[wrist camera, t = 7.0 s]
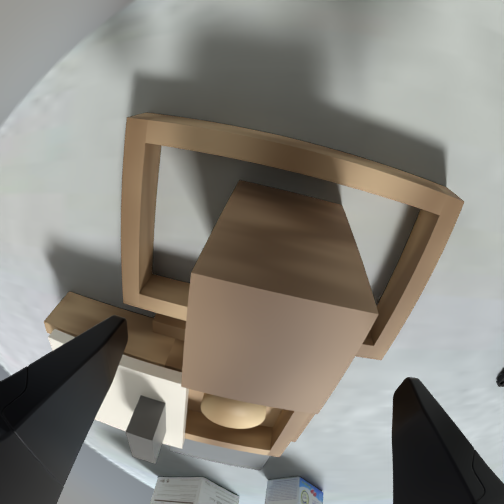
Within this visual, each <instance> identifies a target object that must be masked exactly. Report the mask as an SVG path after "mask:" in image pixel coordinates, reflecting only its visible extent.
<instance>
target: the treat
mask: <svg viewBox="0 0 504 504" xmlns="http://www.w3.org/2000/svg"><path fill="white" fill-rule="evenodd" d="M201 411H202V413H203V414H204V415H205V416H206V417H207V418H208V419H209V420H211V421H212V422H214V423H216V424H219V425H221V426H225V427H229V428H236V429H246V428H252V427H255V426H258V425H259V424H261V423H262V422H263V421H264V420H265V416H266V406H263V405H257V404H252V403H247V402H242V401H238V400H233V399H228V398H224V397H220V396H215V395H211V394H207V393H204V395H203V399H202V403H201Z"/></svg>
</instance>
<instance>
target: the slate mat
mask: <svg viewBox="0 0 504 504" xmlns="http://www.w3.org/2000/svg"><path fill="white" fill-rule="evenodd" d="M170 451H172V452H176V453H180V454H183V455H187V456H191V457H195V458H199V459H204V460H208V461H212V462H217V463H222V464H227V465H232V466H237V467H243V468H248V469H255V470H261V469H262V467H263V466H264V464H265V463H266V462H267V460H268V459H269V457H270V456H268V455H261V454H255V453H249V452H244V451H238V450H233V449H228V448H223V447H219V446H214V445H210V444H206V443H201V442H197V441H193V440H189V439H186V438H185V440H184V444H183V447H182V449H181V448H177V447H174V446H170Z"/></svg>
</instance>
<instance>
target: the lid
mask: <svg viewBox="0 0 504 504" xmlns="http://www.w3.org/2000/svg"><path fill="white" fill-rule="evenodd" d="M48 338H49V341H50V344H51V347H52V350H55V349H56V348H58V347H60V346H61V345H63V344H65V343H66V342H68V341H70V340H72V339H73V338H75V337H74V336H71V335H68V334H66V333H64V332H61V331H59V330H56V329H54V330H53V331H52V333H51V334H50V335H49V337H48ZM181 381H182V372H178V371H175V370H171V369H168V368H164V367H161V366H157V365H154V364H151V363H148V362H144V361H141V360H138V359H135V358H132V357H129V356H126V355H122V358H121V361H120V363H119V366H118V369H117V371H116V374H115V377H114V380H113V382H112V384H111V387H110V389H109V391H108V393H107V395H106V397H105V399H104V401H103V403H102V405H101V407H100V409H99V411H98V413H97V415H96V417H95V420H97V421H100V422H102V423H105V424H108V425H110V426H113V427H115V428H118V429H121V430H124V431H126V435H127V439H128V442H129V446H130V449H131V453H132V456H133V457H136V458H139V459H142V460H145V461H148V462H151V463H154V464H156V461H157V458H158V455H159V452H160V449H161V446H162V443H163V444H167V445H170V446H174V447H177V448H181V449H182V447H183V444H184V440H185V428H186V416H187V404H188V393H189V389H188V388H184V387H181Z"/></svg>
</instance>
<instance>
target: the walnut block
mask: <svg viewBox="0 0 504 504" xmlns="http://www.w3.org/2000/svg"><path fill="white" fill-rule="evenodd" d="M378 315H379V313H378V310H377V307H376V303H375V300H374V297H373V293H372V290H371V287H370V284H369V281H368V277H367V274H366V271H365V268H364V265H363V262H362V259H361V256H360V253H359V250H358V248H357V245H356V242H355V239H354V236H353V233H352V231H351V228H350V225H349V222H348V220H347V217H346V214H345V212H344V209H343V206H342V205H340V204H336V203H333V202H329V201H325V200H321V199H317V198H313V197H309V196H305V195H301V194H297V193H293V192H289V191H285V190H281V189H277V188H272V187H268V186H264V185H259V184H255V183H251V182H246V181H241V180H239V181H238V183H237V185H236V187H235V189H234V191H233V193H232V194H231V196H230V198H229V200H228V202H227V204H226V206H225V208H224V210H223V211H222V213H221V215H220V217H219V219H218V221H217V223H216V225H215V227H214V229H213V231H212V233H211V234H210V236H209V238H208V240H207V242H206V244H205V246H204V248H203V250H202V252H201V254H200V256H199V258H198V260H197V262H196V264H195V266H194V268H193V270H192V272H191V278H190V288H189V297H188V307H187V318H186V329H185V340H184V353H183V366H182V381H181V387H184V388H188V389H191V390H195V391H199V392H203V393H207V394H211V395H215V396H220V397H224V398H228V399H233V400H238V401H242V402H247V403H252V404H257V405H263V406H268V407H274V408H279V409H286V410H292V411H298V412H305V413H313V414H318V413H319V412H320V410H321V409H322V407H323V406H324V404H325V403H326V401H327V400H328V398H329V397H330V395H331V394H332V392H333V391H334V389H335V388H336V386H337V384H338V383H339V381H340V380H341V378H342V377H343V375H344V373H345V372H346V370H347V369H348V367H349V365H350V364H351V362H352V360H353V359H354V357H355V355H356V354H357V352H358V350H359V349H360V347H361V345H362V343H363V342H364V340H365V338H366V336H367V335H368V333H369V331H370V329H371V328H372V326H373V324H374V322H375V320H376V318H377V317H378Z"/></svg>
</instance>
